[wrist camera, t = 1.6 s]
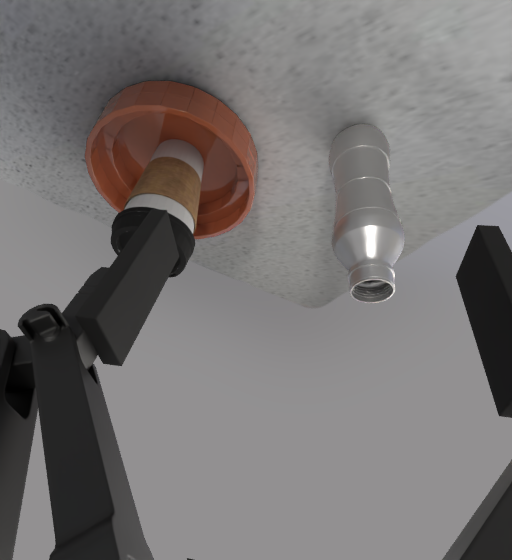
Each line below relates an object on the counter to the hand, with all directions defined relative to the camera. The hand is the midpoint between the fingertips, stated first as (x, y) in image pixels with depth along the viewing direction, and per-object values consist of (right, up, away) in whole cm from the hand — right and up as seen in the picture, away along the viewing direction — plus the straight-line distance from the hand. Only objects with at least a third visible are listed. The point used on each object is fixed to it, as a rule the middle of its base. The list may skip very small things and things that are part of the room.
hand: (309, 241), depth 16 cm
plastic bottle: (+9, +14, +25) cm, 30 cm away
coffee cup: (-12, +13, +29) cm, 34 cm away
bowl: (-12, +13, +29) cm, 34 cm away
